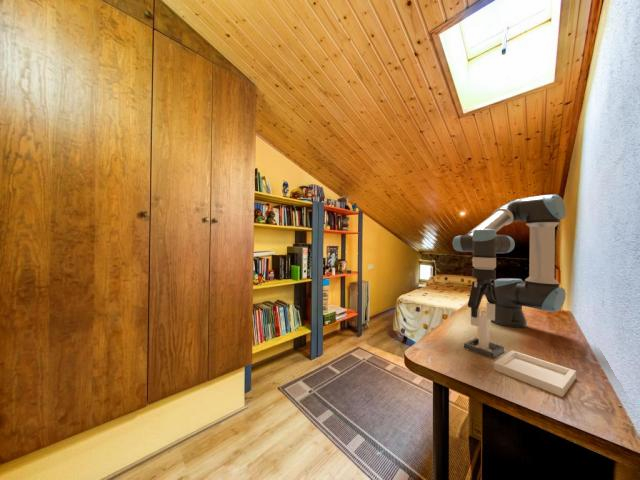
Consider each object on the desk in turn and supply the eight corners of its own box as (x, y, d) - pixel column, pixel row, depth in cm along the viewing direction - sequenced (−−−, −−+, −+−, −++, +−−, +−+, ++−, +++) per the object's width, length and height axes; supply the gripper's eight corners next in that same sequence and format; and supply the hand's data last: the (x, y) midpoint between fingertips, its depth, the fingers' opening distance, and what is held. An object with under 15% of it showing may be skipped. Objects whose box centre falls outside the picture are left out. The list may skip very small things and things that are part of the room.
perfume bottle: (480, 352, 88) (480, 313, 88) (474, 347, 93) (474, 309, 93) (493, 353, 88) (493, 313, 88) (487, 347, 92) (487, 310, 92)
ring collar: (475, 342, 97) (475, 337, 97) (504, 351, 89) (504, 346, 89) (463, 348, 92) (463, 343, 92) (493, 359, 83) (493, 353, 83)
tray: (512, 356, 85) (512, 350, 85) (575, 378, 72) (575, 370, 72) (493, 369, 76) (493, 362, 76) (562, 397, 63) (562, 388, 63)
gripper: (486, 266, 100) (486, 314, 100) (457, 268, 87) (457, 325, 86) (507, 267, 94) (507, 319, 94) (480, 270, 80) (479, 331, 80)
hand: (483, 322), depth 90 cm, fingers open, 13 cm apart
